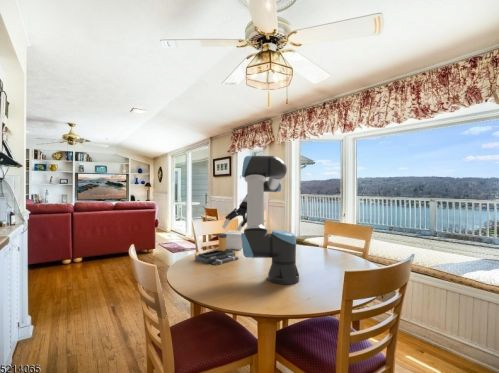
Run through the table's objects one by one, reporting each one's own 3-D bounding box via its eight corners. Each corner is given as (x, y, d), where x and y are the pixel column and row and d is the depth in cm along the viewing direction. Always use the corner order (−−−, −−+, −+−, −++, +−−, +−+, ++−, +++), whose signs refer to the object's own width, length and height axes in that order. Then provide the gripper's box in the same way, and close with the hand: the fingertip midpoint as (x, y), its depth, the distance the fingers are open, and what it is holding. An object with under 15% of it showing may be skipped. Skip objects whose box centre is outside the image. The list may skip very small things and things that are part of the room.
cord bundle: (233, 257, 175) (233, 255, 175) (238, 259, 172) (238, 256, 172) (210, 263, 161) (210, 260, 161) (216, 265, 158) (216, 262, 158)
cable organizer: (245, 247, 205) (246, 231, 205) (242, 250, 194) (242, 233, 194) (226, 245, 208) (226, 230, 208) (221, 249, 198) (221, 232, 198)
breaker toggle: (222, 250, 179) (222, 233, 179) (227, 251, 176) (227, 234, 176) (217, 251, 176) (217, 234, 176) (222, 253, 173) (222, 235, 173)
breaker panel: (222, 253, 184) (222, 247, 184) (235, 257, 176) (235, 250, 176) (195, 260, 168) (195, 253, 168) (208, 264, 160) (208, 257, 160)
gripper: (263, 209, 186) (247, 234, 175) (236, 207, 203) (220, 230, 192) (258, 201, 182) (242, 227, 171) (231, 200, 199) (214, 223, 188)
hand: (230, 228), depth 181 cm, fingers open, 13 cm apart
